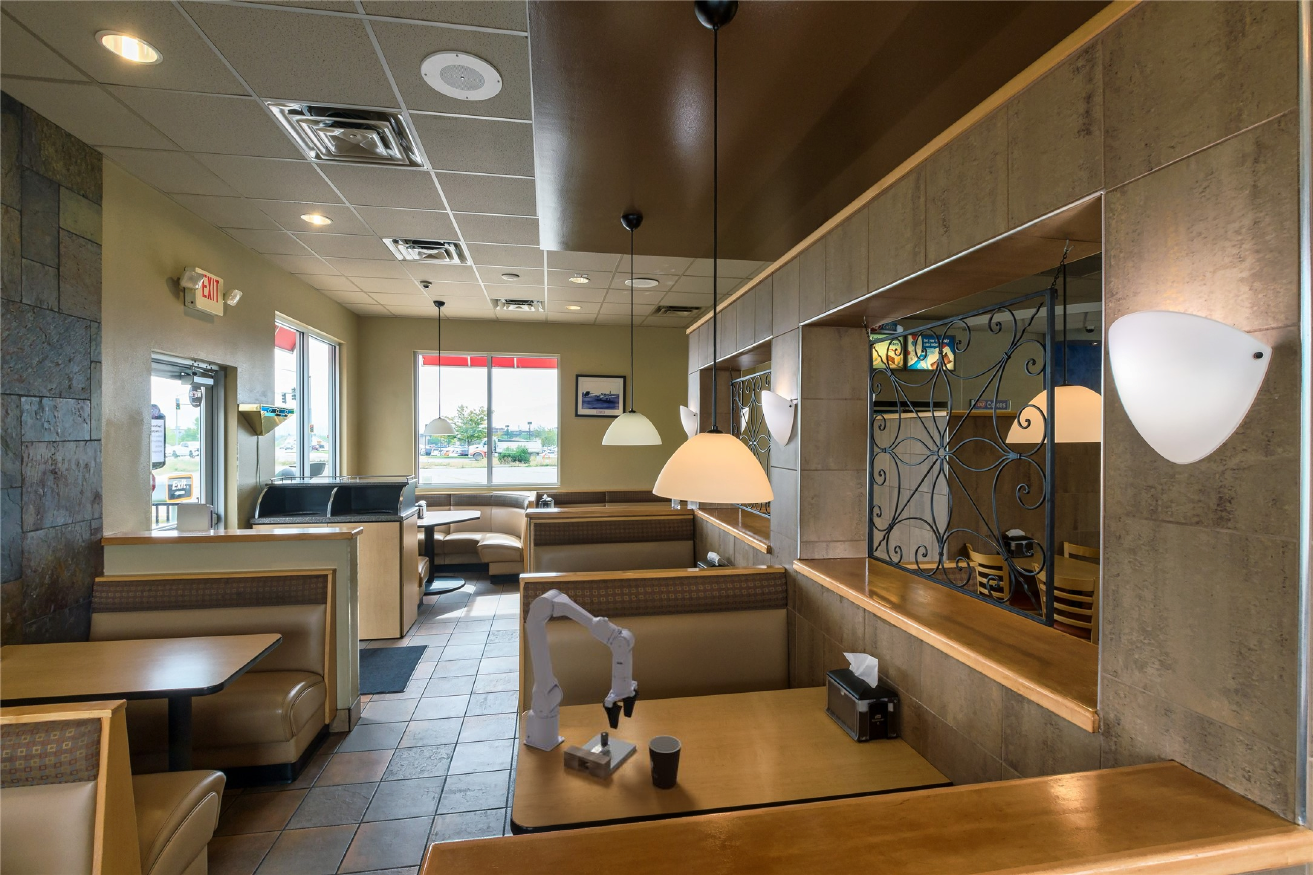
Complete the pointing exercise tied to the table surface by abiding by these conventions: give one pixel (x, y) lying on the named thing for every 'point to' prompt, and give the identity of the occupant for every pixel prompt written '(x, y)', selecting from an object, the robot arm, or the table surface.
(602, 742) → the bolt
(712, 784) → the table surface
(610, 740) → the door panel
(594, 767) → the block
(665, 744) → the coffee mug
